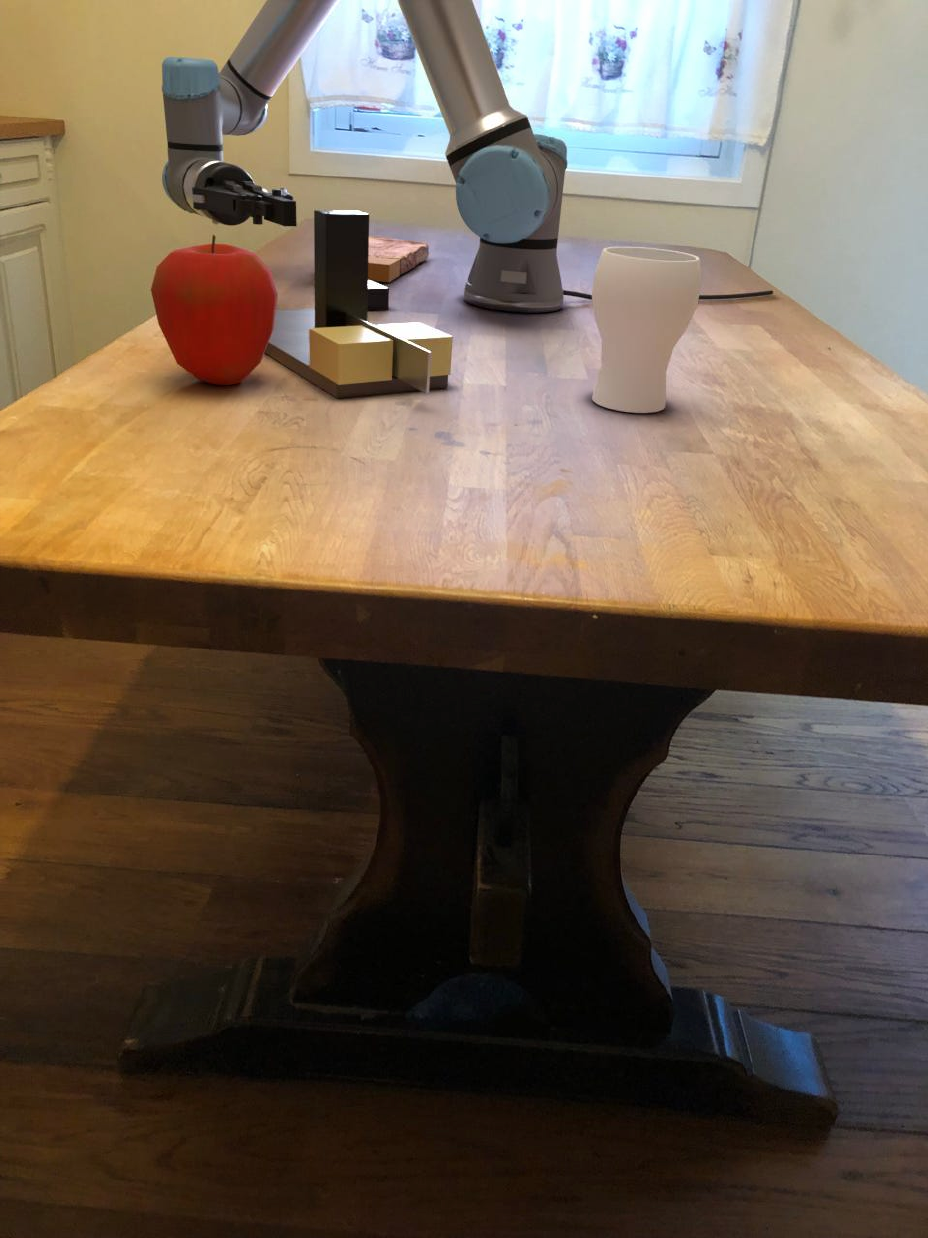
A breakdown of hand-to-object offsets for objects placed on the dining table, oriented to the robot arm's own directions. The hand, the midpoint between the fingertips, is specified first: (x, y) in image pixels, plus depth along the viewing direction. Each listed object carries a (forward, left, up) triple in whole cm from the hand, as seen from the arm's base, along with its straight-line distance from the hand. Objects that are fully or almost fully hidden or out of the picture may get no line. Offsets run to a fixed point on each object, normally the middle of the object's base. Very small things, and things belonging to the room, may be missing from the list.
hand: (290, 213), depth 111 cm
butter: (+8, +22, -12) cm, 27 cm away
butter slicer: (+8, +21, -12) cm, 26 cm away
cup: (-8, +43, -14) cm, 46 cm away
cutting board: (+3, +9, -14) cm, 17 cm away
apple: (+20, +11, -14) cm, 27 cm away
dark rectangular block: (-21, -9, -14) cm, 27 cm away
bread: (-48, -30, -14) cm, 59 cm away
